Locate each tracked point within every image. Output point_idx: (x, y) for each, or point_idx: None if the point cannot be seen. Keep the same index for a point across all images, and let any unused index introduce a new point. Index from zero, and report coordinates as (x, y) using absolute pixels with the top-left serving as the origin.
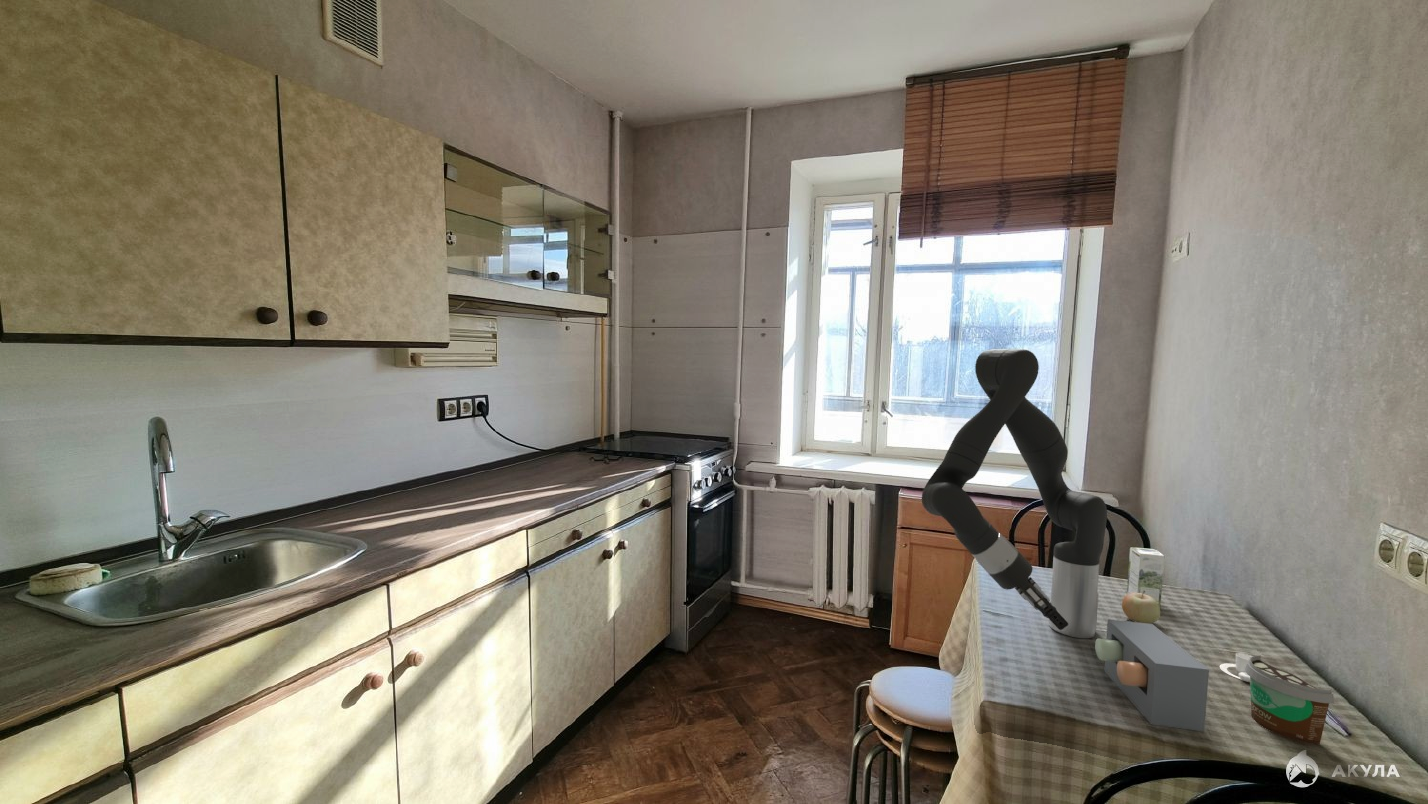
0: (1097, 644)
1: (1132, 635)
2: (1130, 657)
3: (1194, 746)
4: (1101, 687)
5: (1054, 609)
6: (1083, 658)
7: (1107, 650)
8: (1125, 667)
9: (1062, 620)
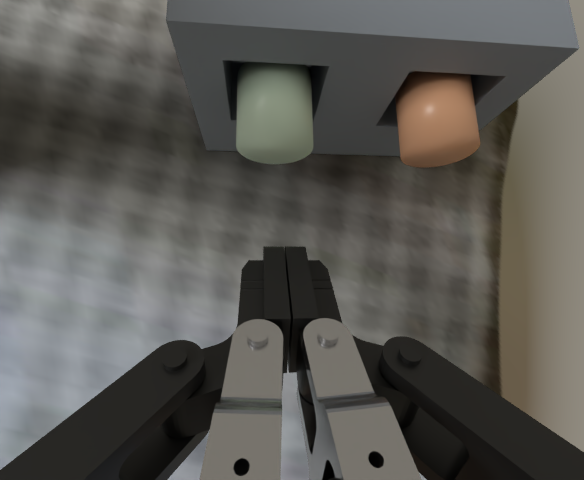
0: (254, 143)
1: (337, 5)
2: (377, 85)
3: (499, 115)
4: (305, 196)
5: (455, 373)
6: (134, 175)
7: (312, 132)
8: (475, 139)
9: (330, 282)
